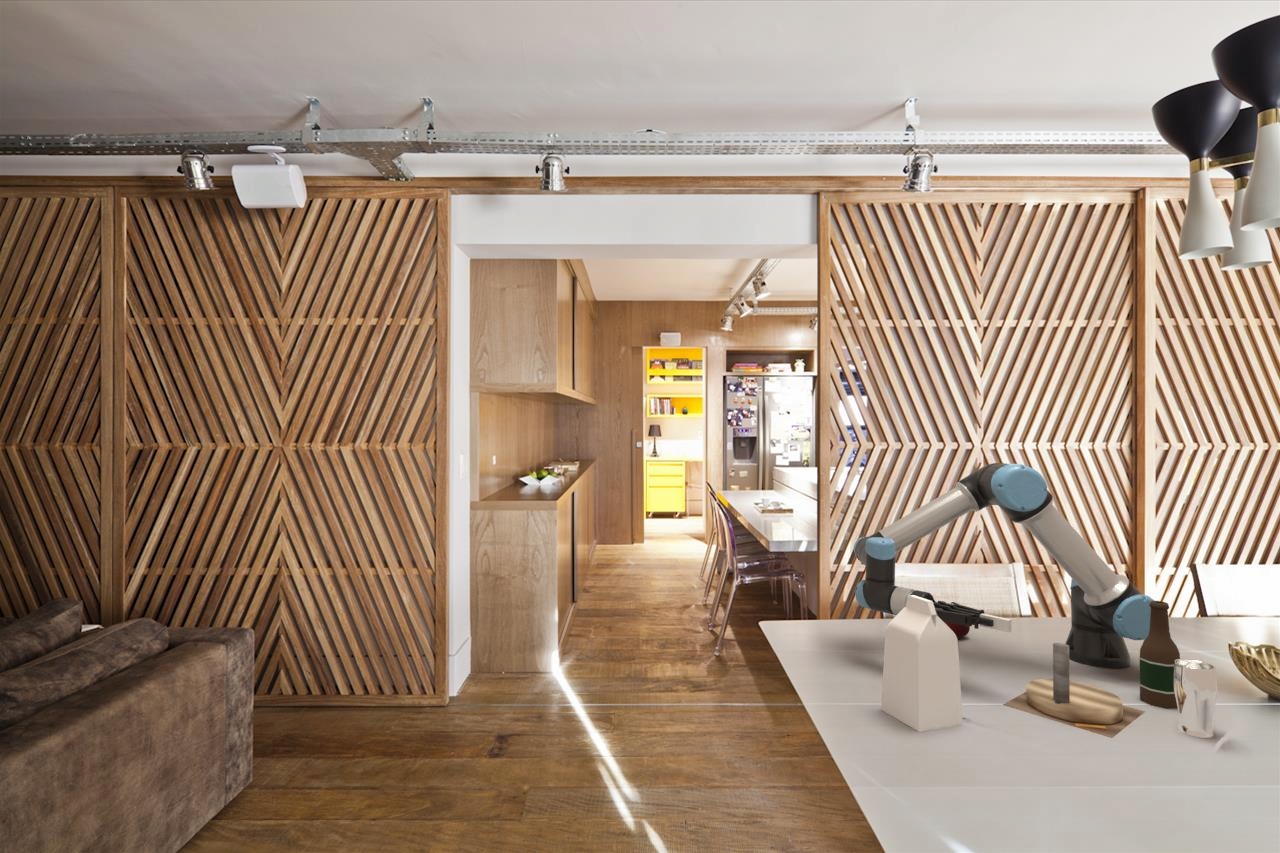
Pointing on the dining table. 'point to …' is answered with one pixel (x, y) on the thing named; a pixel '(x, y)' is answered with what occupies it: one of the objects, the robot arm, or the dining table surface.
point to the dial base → (1103, 729)
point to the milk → (921, 669)
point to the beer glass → (1195, 696)
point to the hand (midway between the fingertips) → (1009, 625)
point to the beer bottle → (1158, 660)
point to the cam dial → (1072, 695)
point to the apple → (958, 629)
